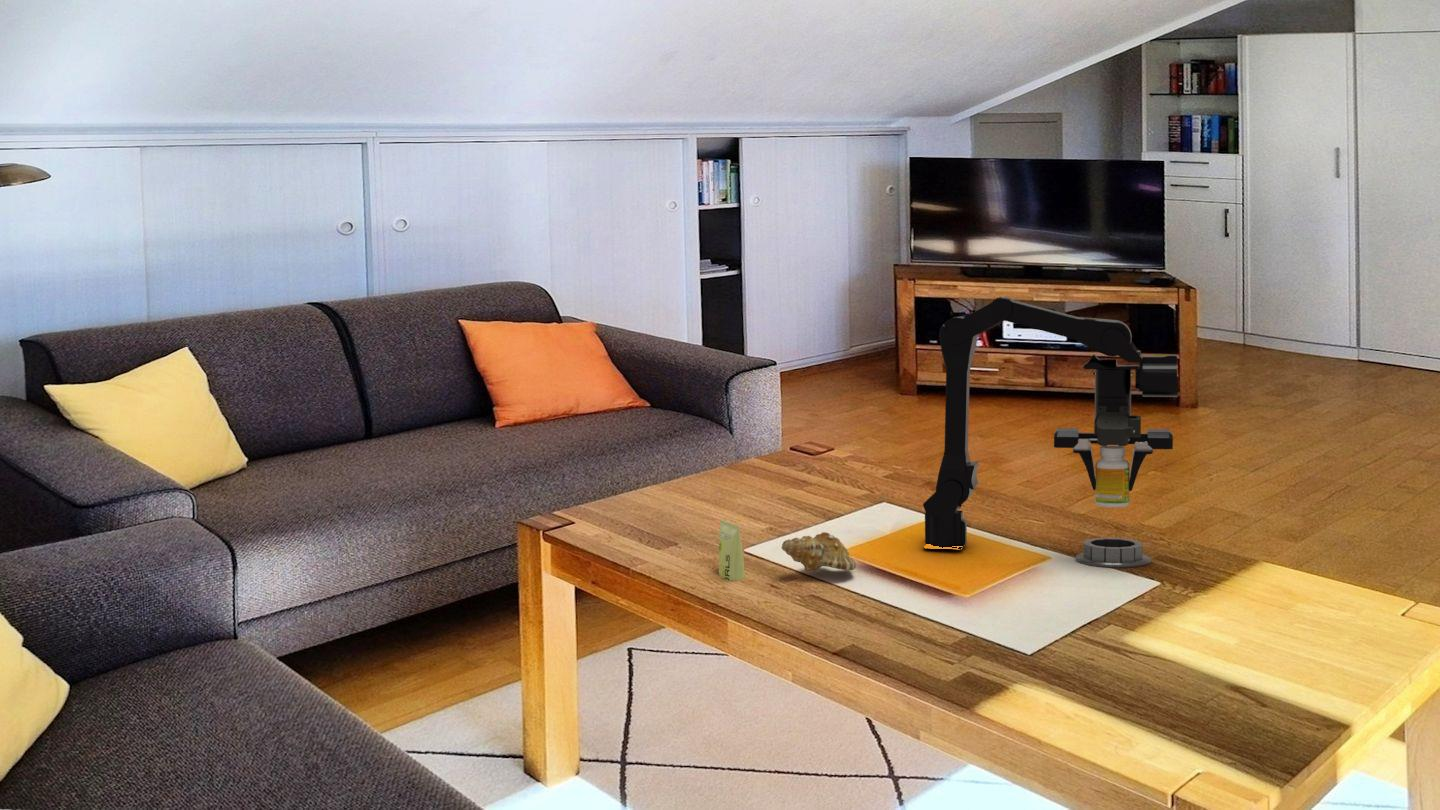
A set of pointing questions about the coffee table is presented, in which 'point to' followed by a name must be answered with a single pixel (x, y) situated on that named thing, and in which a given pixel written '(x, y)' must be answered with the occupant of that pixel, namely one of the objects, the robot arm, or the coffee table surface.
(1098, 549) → the collar stand
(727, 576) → the tube
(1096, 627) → the coffee table surface
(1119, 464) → the supplement bottle
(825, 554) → the seashell
